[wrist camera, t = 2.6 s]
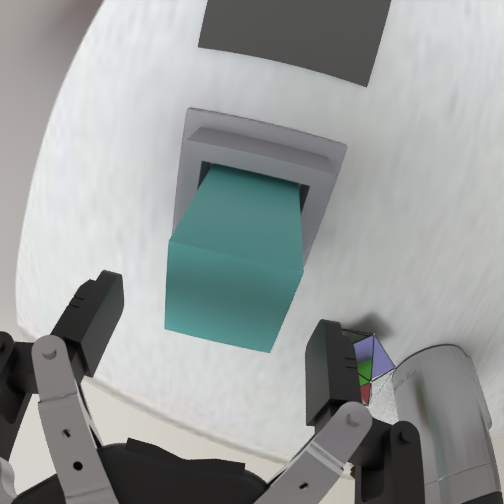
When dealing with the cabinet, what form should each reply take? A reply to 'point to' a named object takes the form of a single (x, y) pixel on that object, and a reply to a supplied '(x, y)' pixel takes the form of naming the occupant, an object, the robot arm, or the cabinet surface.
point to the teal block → (235, 259)
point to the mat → (300, 33)
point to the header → (259, 161)
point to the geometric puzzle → (370, 364)
